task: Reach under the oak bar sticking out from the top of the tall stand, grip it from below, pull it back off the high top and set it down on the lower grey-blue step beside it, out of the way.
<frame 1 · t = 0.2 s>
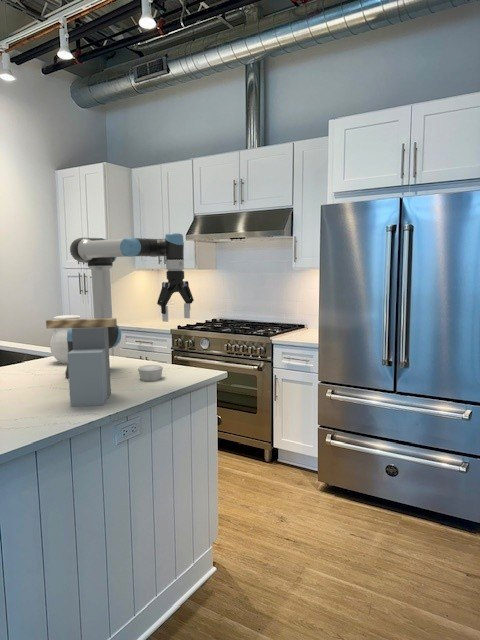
hand: (176, 319, 199), 28 cm above the countertop, tool pointing down, fingers open, 13 cm apart
oak bar: (82, 327, 180), point 28 cm above the countertop, touching stand
pitcher: (69, 362, 250), on the countertop
stand: (91, 399, 180), on the countertop
ramekin: (150, 379, 211), on the countertop
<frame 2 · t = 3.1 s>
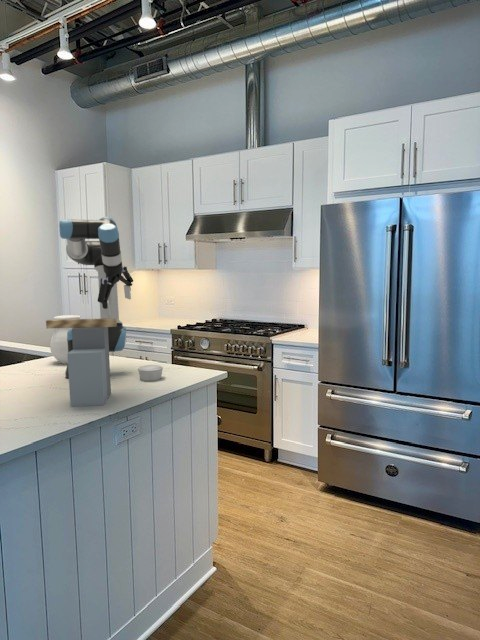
hand: (118, 305, 198), 34 cm above the countertop, tool tilted 30°, fingers open, 13 cm apart
nothing on the countertop moved.
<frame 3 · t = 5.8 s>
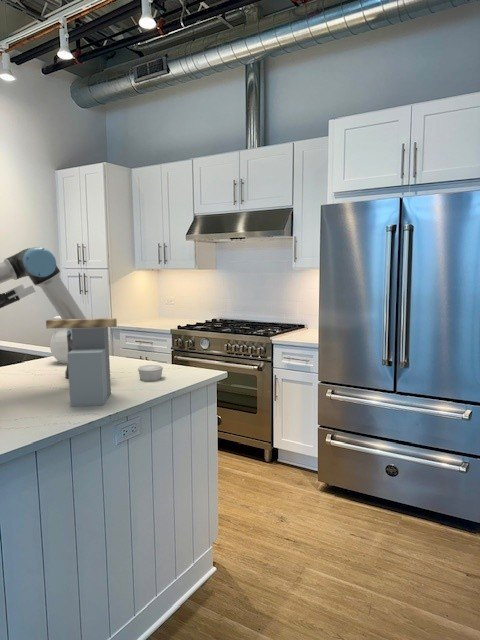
hand: (29, 288, 176), 44 cm above the countertop, tool pointing upward, fingers open, 13 cm apart
nothing on the countertop moved.
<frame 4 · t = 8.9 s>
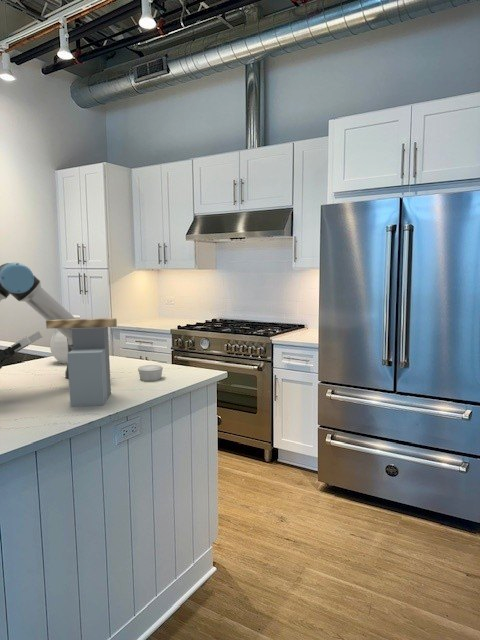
hand: (34, 336, 178), 25 cm above the countertop, tool pointing upward, fingers open, 13 cm apart
nothing on the countertop moved.
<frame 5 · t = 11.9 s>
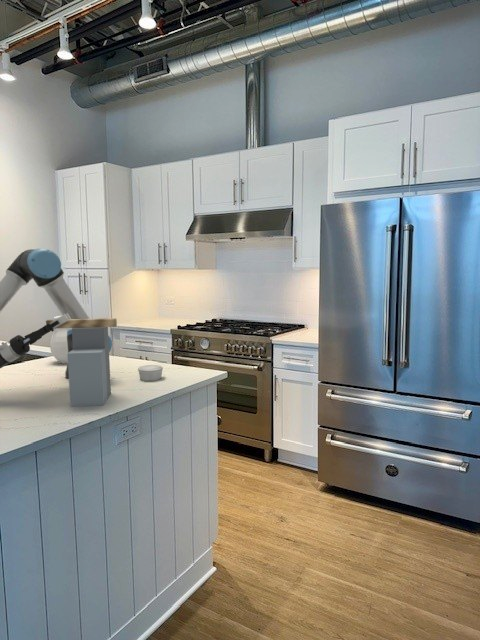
hand: (67, 316, 179), 32 cm above the countertop, tool pointing upward, fingers closed on oak bar, 3 cm apart
oak bar: (82, 327, 180), point 28 cm above the countertop, touching gripper, stand
everything else where it was.
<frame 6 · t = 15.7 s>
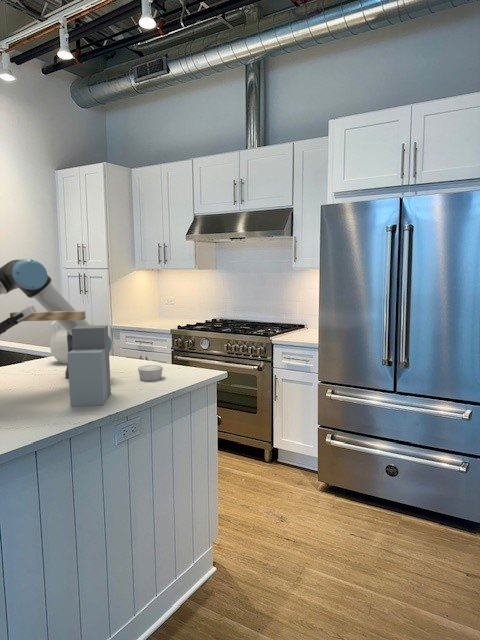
hand: (33, 309, 169), 36 cm above the countertop, tool pointing upward, fingers closed on oak bar, 3 cm apart
oak bar: (48, 320, 170), point 32 cm above the countertop, touching gripper
everything else where it was.
when the fingers open (25 cm above the countertop, at t = 19.4 s): oak bar stays where it is, resting on stand.
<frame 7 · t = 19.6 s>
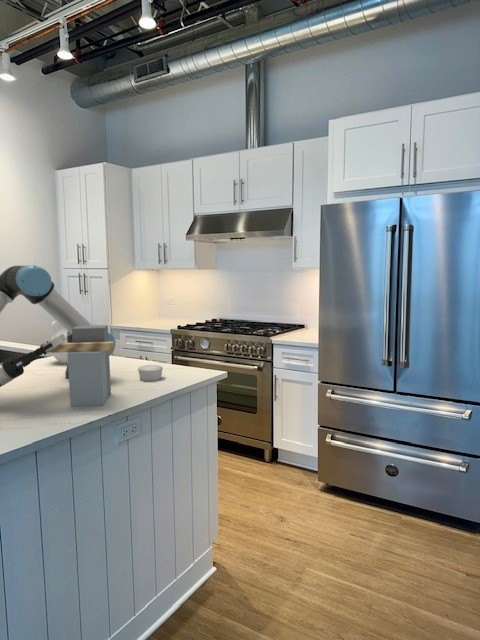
hand: (62, 338, 172), 25 cm above the countertop, tool pointing upward, fingers open, 5 cm apart
oak bar: (78, 351, 173), point 20 cm above the countertop, touching stand
everything else where it was.
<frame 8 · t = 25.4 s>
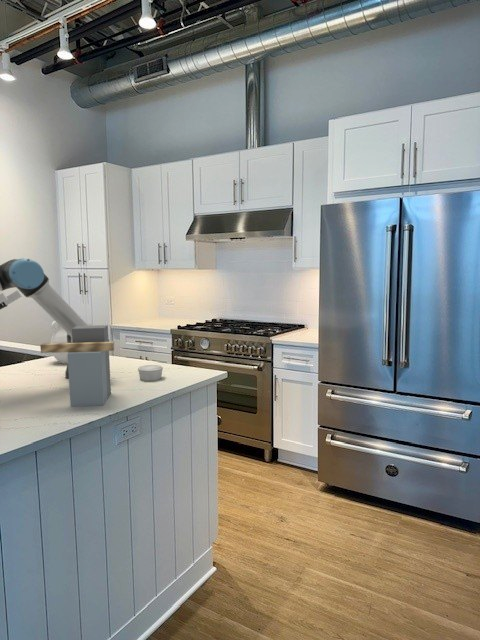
hand: (12, 294, 168), 42 cm above the countertop, tool pointing upward, fingers open, 13 cm apart
nothing on the countertop moved.
at the end: oak bar inside the target area on the stand (0.1 cm from its centre), point 20.0 cm above the stand's base; oak bar tilted 0°; the gripper is holding nothing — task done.
